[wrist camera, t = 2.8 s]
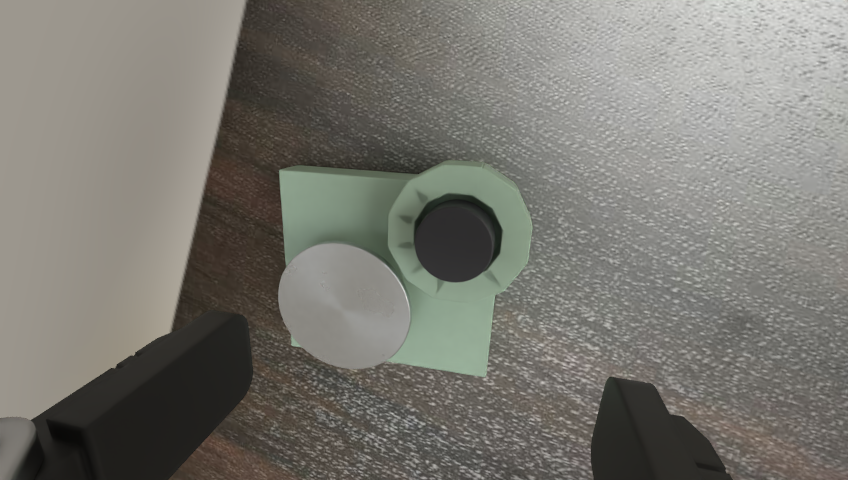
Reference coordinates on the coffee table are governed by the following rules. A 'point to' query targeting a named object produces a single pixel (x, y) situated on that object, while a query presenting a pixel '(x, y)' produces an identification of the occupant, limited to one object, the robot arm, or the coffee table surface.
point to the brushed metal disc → (345, 304)
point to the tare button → (455, 241)
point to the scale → (395, 241)
